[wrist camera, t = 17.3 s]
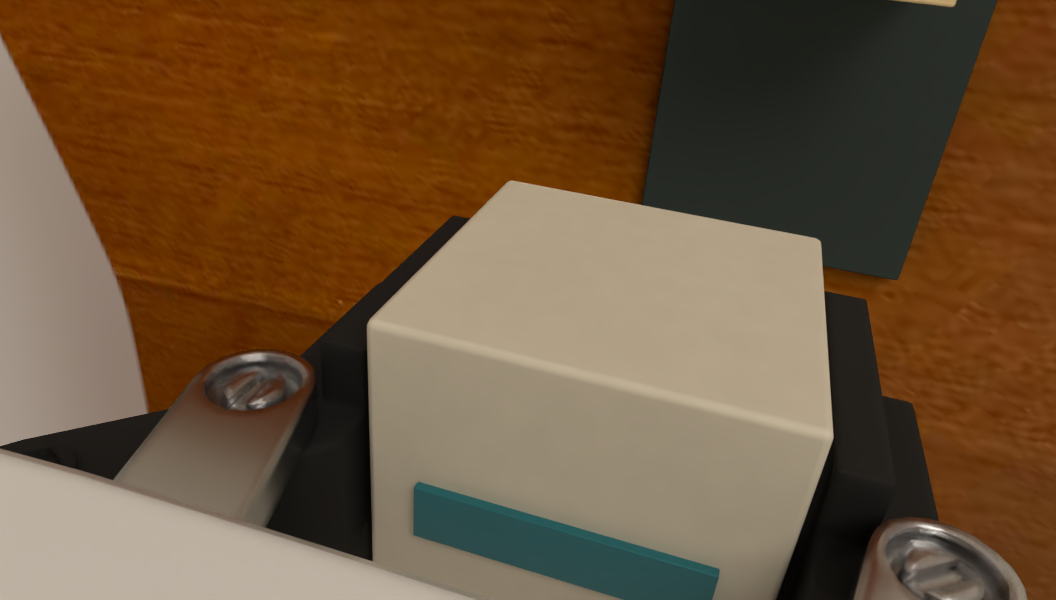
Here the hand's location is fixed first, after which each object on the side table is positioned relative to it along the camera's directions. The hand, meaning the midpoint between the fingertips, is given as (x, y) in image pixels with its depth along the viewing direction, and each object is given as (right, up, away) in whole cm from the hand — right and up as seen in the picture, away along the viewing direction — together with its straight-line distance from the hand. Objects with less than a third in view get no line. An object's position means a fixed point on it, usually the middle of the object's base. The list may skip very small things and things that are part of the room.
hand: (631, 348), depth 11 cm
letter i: (0, 0, 0) cm, 0 cm away
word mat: (+7, +8, +10) cm, 14 cm away
